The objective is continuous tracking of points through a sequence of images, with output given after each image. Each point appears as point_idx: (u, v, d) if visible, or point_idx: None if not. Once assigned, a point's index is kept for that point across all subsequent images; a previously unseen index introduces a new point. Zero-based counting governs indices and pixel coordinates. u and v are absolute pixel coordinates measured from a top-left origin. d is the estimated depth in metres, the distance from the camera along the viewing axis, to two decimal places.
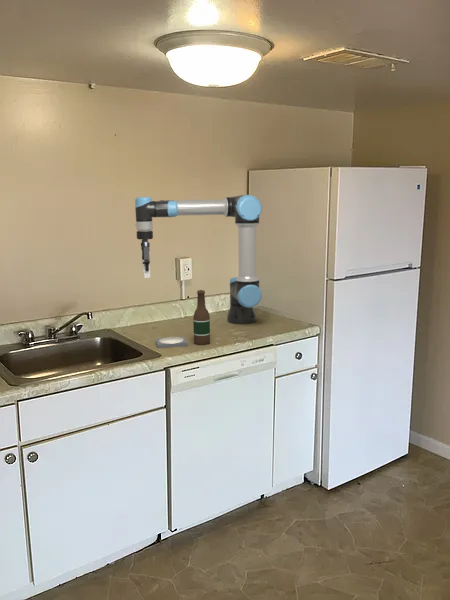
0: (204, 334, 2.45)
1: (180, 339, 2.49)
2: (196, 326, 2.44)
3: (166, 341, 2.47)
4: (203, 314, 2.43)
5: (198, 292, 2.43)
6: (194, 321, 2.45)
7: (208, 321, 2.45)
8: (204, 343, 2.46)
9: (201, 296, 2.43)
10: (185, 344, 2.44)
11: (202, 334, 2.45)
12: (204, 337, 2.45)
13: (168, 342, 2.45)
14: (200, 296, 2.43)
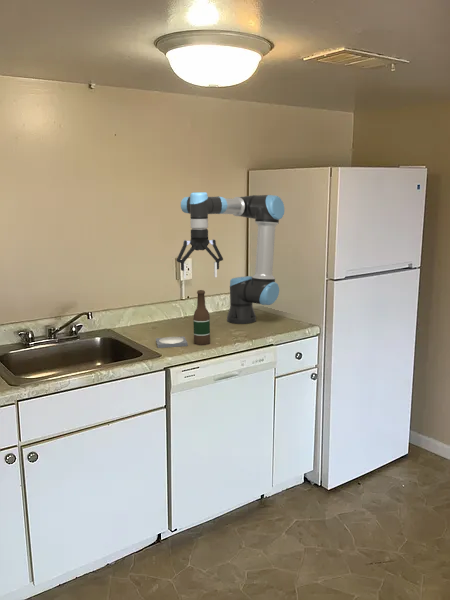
0: (204, 334, 2.45)
1: (180, 339, 2.49)
2: (196, 326, 2.44)
3: (166, 341, 2.47)
4: (203, 314, 2.43)
5: (198, 292, 2.43)
6: (194, 321, 2.45)
7: (208, 321, 2.45)
8: (204, 343, 2.46)
9: (201, 296, 2.43)
10: (185, 344, 2.44)
11: (202, 334, 2.45)
12: (204, 337, 2.45)
13: (168, 342, 2.45)
14: (200, 296, 2.43)
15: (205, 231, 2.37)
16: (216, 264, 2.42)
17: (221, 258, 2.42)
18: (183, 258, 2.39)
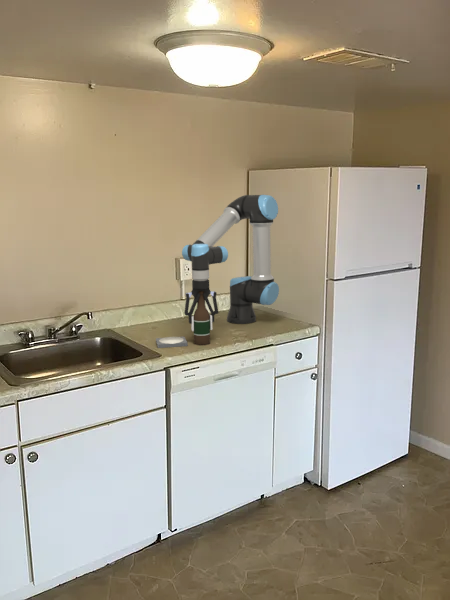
0: (204, 334, 2.45)
1: (180, 339, 2.49)
2: (196, 326, 2.44)
3: (166, 341, 2.47)
4: (203, 314, 2.43)
5: None
6: (194, 321, 2.45)
7: (208, 321, 2.45)
8: (204, 343, 2.46)
9: (201, 296, 2.43)
10: (185, 344, 2.44)
11: (202, 334, 2.45)
12: (204, 337, 2.45)
13: (168, 342, 2.45)
14: (200, 296, 2.43)
15: (206, 282, 2.41)
16: (211, 317, 2.46)
17: (216, 311, 2.46)
18: (190, 311, 2.44)
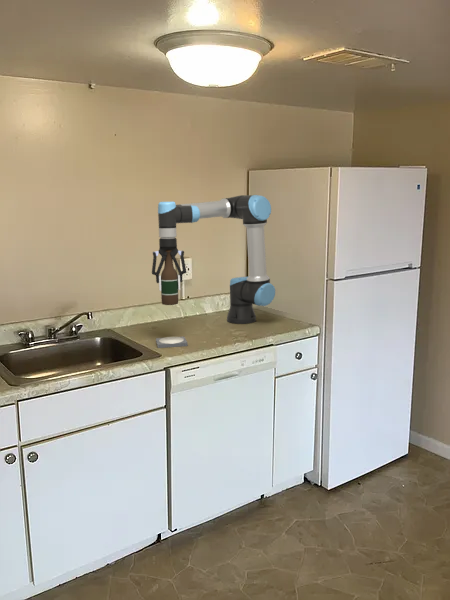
0: (172, 294, 2.41)
1: (180, 339, 2.49)
2: (164, 286, 2.41)
3: (166, 341, 2.47)
4: (170, 273, 2.40)
5: None
6: (161, 280, 2.41)
7: (176, 281, 2.41)
8: (172, 303, 2.42)
9: (168, 254, 2.40)
10: (185, 344, 2.44)
11: (169, 294, 2.41)
12: (172, 297, 2.41)
13: (168, 342, 2.45)
14: (167, 255, 2.40)
15: (173, 240, 2.37)
16: (179, 277, 2.43)
17: (184, 271, 2.43)
18: (157, 270, 2.41)
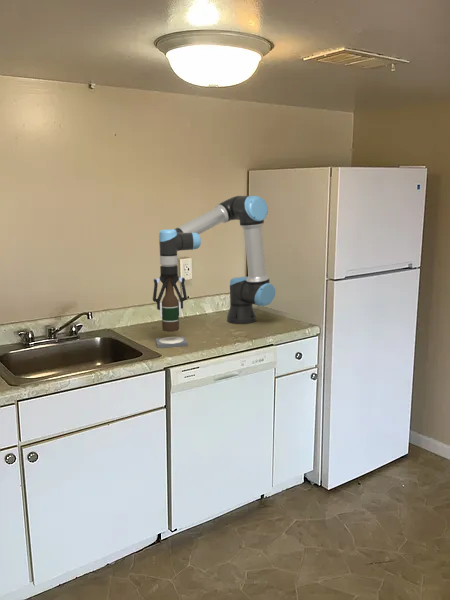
0: (173, 321, 2.43)
1: (180, 339, 2.49)
2: (165, 312, 2.43)
3: (166, 341, 2.47)
4: (171, 300, 2.42)
5: None
6: (162, 307, 2.43)
7: (176, 307, 2.44)
8: (172, 329, 2.44)
9: (169, 282, 2.42)
10: (185, 344, 2.44)
11: (170, 321, 2.43)
12: (172, 323, 2.43)
13: (168, 342, 2.45)
14: (168, 282, 2.42)
15: (174, 268, 2.40)
16: (180, 303, 2.45)
17: (185, 297, 2.45)
18: (158, 297, 2.43)
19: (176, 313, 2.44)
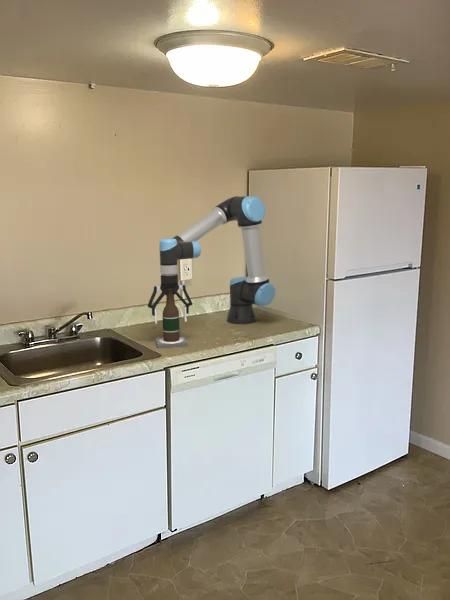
0: (173, 331, 2.44)
1: (180, 339, 2.49)
2: (165, 323, 2.44)
3: None
4: (172, 311, 2.43)
5: None
6: (163, 318, 2.45)
7: (177, 318, 2.45)
8: (173, 340, 2.45)
9: (169, 292, 2.43)
10: (185, 344, 2.44)
11: (171, 331, 2.44)
12: (173, 334, 2.44)
13: (168, 342, 2.45)
14: (169, 293, 2.43)
15: (174, 277, 2.40)
16: (186, 309, 2.46)
17: (191, 303, 2.46)
18: (154, 303, 2.43)
19: (177, 323, 2.45)
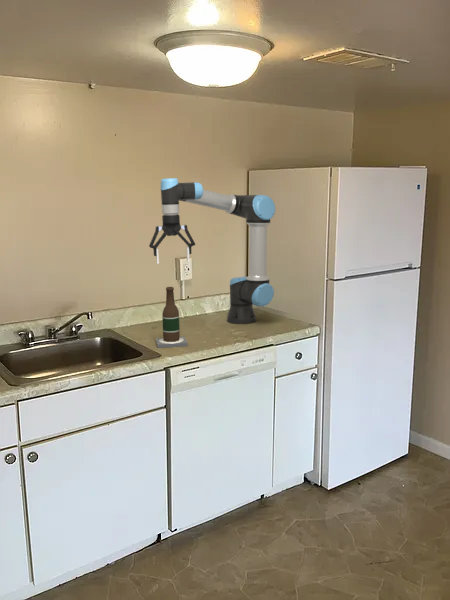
0: (173, 331, 2.44)
1: (180, 339, 2.49)
2: (165, 323, 2.44)
3: None
4: (172, 311, 2.43)
5: (167, 289, 2.43)
6: (163, 318, 2.44)
7: (177, 318, 2.45)
8: (173, 340, 2.45)
9: (169, 292, 2.43)
10: (185, 344, 2.44)
11: (171, 331, 2.44)
12: (173, 334, 2.44)
13: (168, 342, 2.45)
14: (169, 293, 2.43)
15: (176, 216, 2.40)
16: (188, 249, 2.46)
17: (193, 243, 2.46)
18: (155, 244, 2.43)
19: (177, 323, 2.45)
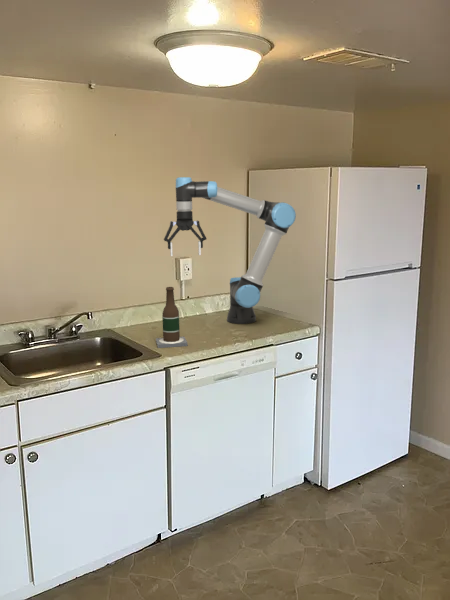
0: (173, 331, 2.44)
1: (180, 339, 2.49)
2: (165, 323, 2.44)
3: None
4: (172, 311, 2.43)
5: (167, 289, 2.43)
6: (163, 318, 2.44)
7: (177, 318, 2.45)
8: (173, 340, 2.45)
9: (169, 292, 2.43)
10: (185, 344, 2.44)
11: (171, 331, 2.44)
12: (173, 334, 2.44)
13: (168, 342, 2.45)
14: (169, 293, 2.43)
15: (189, 213, 2.60)
16: (200, 243, 2.65)
17: (204, 237, 2.65)
18: (170, 237, 2.63)
19: (177, 323, 2.45)
